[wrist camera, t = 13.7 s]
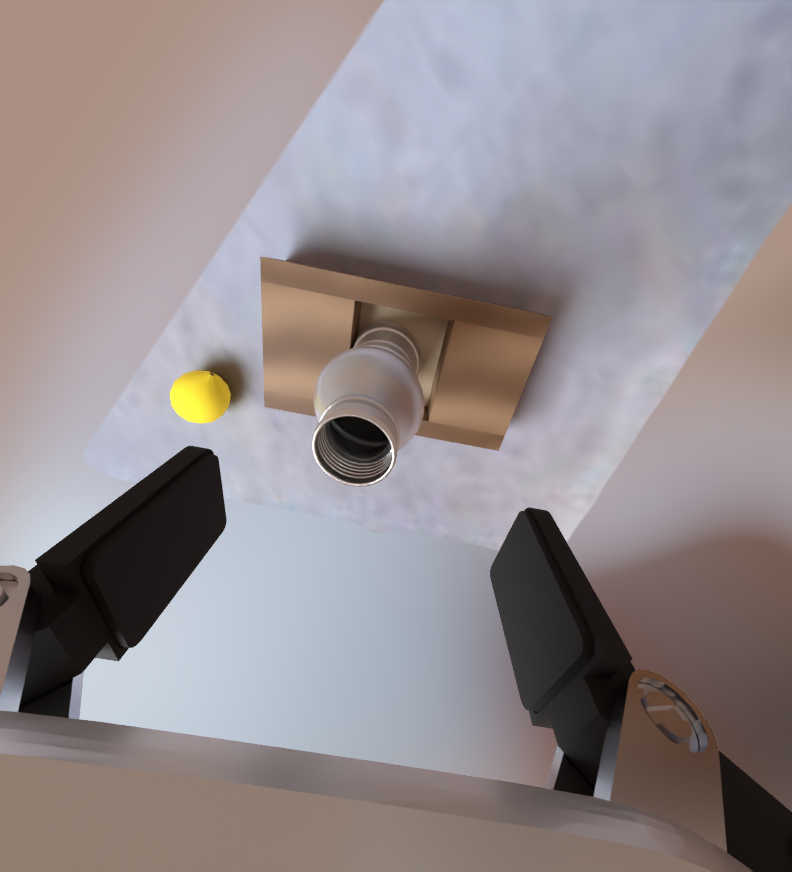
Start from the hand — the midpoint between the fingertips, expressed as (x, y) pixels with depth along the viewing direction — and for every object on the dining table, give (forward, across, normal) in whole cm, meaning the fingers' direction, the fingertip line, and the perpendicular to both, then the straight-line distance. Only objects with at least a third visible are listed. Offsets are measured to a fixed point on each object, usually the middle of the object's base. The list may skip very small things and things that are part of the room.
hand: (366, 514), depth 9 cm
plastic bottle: (+24, +1, +1) cm, 24 cm away
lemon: (+25, +20, +9) cm, 33 cm away
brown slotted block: (+25, 0, +1) cm, 25 cm away
